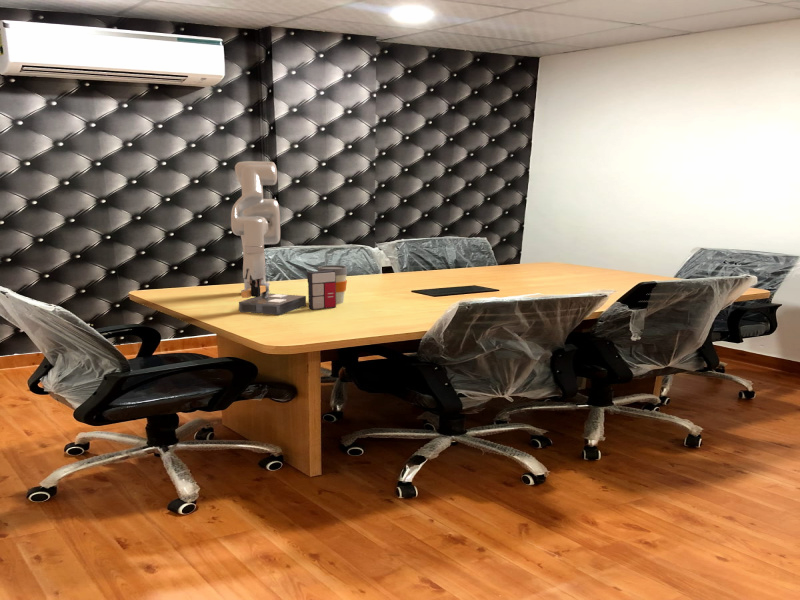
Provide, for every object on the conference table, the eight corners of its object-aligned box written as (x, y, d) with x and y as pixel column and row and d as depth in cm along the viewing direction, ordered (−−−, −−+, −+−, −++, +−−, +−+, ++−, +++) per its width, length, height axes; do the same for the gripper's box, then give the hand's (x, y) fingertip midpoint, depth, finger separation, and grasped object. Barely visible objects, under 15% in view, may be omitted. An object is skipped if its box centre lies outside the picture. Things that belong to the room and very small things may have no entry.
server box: (267, 302, 309) (266, 289, 308) (306, 305, 303) (305, 292, 302) (238, 312, 289) (237, 298, 288) (279, 315, 283) (278, 301, 282)
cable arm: (262, 289, 306) (262, 283, 306) (270, 290, 305) (270, 283, 305) (240, 297, 288) (240, 290, 287) (248, 298, 287) (248, 290, 286)
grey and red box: (312, 310, 293) (311, 273, 290) (307, 308, 296) (307, 271, 294) (337, 307, 298) (336, 271, 296) (332, 306, 302) (331, 270, 299)
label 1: (276, 294, 305) (276, 294, 305) (287, 295, 303) (287, 294, 303) (269, 297, 299) (269, 296, 299) (280, 297, 298) (280, 297, 298)
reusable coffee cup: (318, 299, 317) (317, 265, 314) (347, 299, 318) (346, 265, 315) (317, 305, 304) (317, 269, 302) (348, 304, 305) (347, 268, 303)
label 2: (275, 299, 294) (275, 298, 294) (286, 300, 292) (286, 299, 292) (267, 301, 288) (267, 301, 288) (278, 302, 287) (278, 302, 287)
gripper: (255, 247, 295) (257, 292, 298) (235, 251, 281) (237, 299, 285) (272, 248, 293) (273, 294, 296) (252, 252, 279) (254, 300, 282)
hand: (255, 296), depth 290 cm, fingers closed
